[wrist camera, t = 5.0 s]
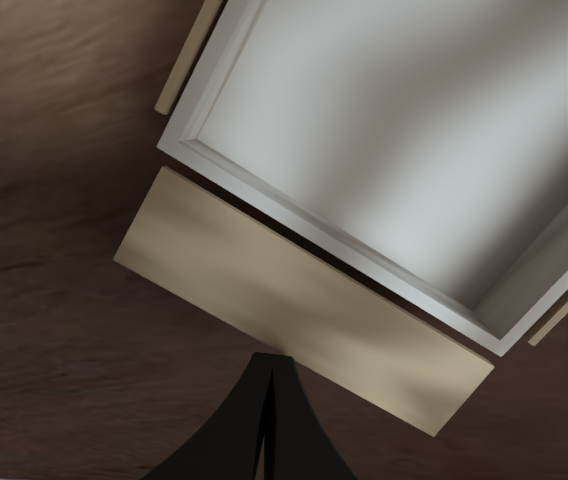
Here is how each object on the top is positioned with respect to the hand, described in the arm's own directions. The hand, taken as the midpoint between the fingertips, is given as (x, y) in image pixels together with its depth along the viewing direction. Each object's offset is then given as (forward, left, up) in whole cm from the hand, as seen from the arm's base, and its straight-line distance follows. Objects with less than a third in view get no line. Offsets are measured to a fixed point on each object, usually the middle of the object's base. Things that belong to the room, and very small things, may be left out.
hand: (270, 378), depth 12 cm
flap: (0, -5, -1) cm, 5 cm away
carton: (0, -11, -4) cm, 12 cm away
